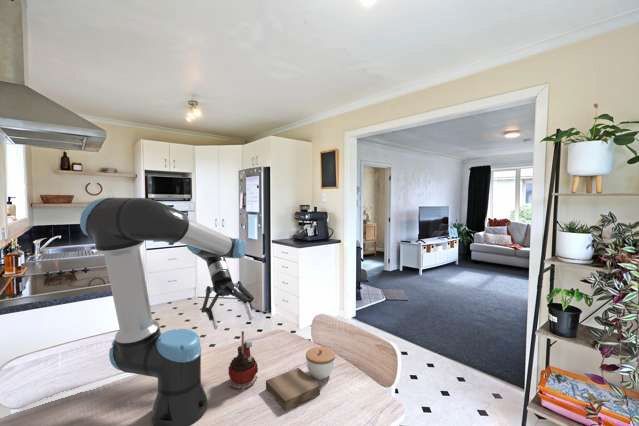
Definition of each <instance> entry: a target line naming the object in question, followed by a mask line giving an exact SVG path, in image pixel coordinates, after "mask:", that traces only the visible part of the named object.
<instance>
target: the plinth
mask: <svg viewBox="0 0 639 426" xmlns="http://www.w3.org/2000/svg"><path fill="white" fill-rule="evenodd" d="M265 390H266V391H267V392H268V393H269V394H270V395H271V396H272V398H273V400H275V401H276V402H277V403H278V404H279V405H280V406H281V407H282V409H284V411H286V412H287V411H289V410H291V409H292V408H294V407H296V406H298V405H301V404H302V403H305V402H307V401H309V400H311V399H313V398H315V397H317V396H319V395H320V394H321V385H320V384H319V383H318V382H317V381H315V380H314V378H313V377H310V375H308V374H307V373H306V372H305V371H303V370H302V369H300V368H299V367H296V368H293V369H292V370H289V371H286V372H284V373H281V374H279V375H276V376H274V377H270V378H269V379H266V380H265Z"/></svg>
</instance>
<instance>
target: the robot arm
mask: <svg viewBox="0 0 639 426" xmlns="http://www.w3.org/2000/svg"><path fill="white" fill-rule="evenodd" d="M79 226H80V230H81V231H82V233H83V234H84V235H85V236H87V237H88V238H90V239H92V240H93V241H94V245H95V251H97V252H99V253H101V254H103V257H104V259H105V265H106V269H107V275H108V279H109V284H110V289H111V295H112V298H113V303H114V308H115V313H116V317H117V323H118V328H119V329H118V331H117V332H116V334H115V335H114V339H113V340H112V342H111V347H110V348H109V351H108V352H109V353H108V356H109V357H108V358H109V361H110V364H111V365H112V367H113V368H114V369H116V370H118V371H121V372H123V373H127V374H135V375H141V376H146V377H151V378H156V379H157V393H156V397H155V400H154V403H153V407H152V409H151V423H152V425H153V426H191V425H192V424H194V423H195V422H197V421H198V420H200V419H201V418H202V417H203V416H204V414H205V413H206V411H207V409H208V396H207V393H206V391H205V387H204V386H203V383H202V376H201V375H202V368H201V367H202V366H201V365H202V364H201V363H202V361H201V359H202V357H201V356H202V354H201V353H202V346H201V339H200V335H199V334H198V333H196V332H195V331H193V330H191V329H187V328H179V329H169V330H166V331H165V332H162V333H161V327H160V323H159V322H158V321H157V320H156V319H153V317H152V316H153V315H152V310H151V304H150V299H149V292H148V287H147V282H146V278H145V272H144V264H143V259H142V253H141V246H142V245H143V244H144V243H145V241H149V242H150V241H153V242H154V241H155V242H156V241H157V242H164V243H168V244H175V243H180V244H183V245H186V248H187V250H188V251H190V252H191V254H194V255H196V256H197V257H199V258H200V259H202V260H204V261H205V262H206V265H207V269H208V272H209V275H210V281H211V282H212V286H209V285H207V286H206V289H205V297H204V299H203V304H202V307H201V313H202V314H203V313H206V314H207V318H208V321H209V322H212V326H213V329H214V331H215V330H217V329H218V326H219V323H218V320H217V316H216V312H215V309H214V306H215V304H216V302H217V300H218V299H219V297H222V298H223V297H229V296H232V297H235V298H236V299H238V300H240V302H242V303H243V304H244V308H245V311H246V314H247V317H248V320H249V321H252V320H253V318H254V313H253V310H254V309H253V305H252V302H253V301H254V299H255V296H254V295H252V293H250V292H249V291H248V290H247V288H246V287H245V286H243V283H242V282H241V280H238V281H237V282H233V279H232V278H233V277H232V275H231V273H230V270H229V267H228V264H227V259H243V258H244V256H245V254H246V252H247V243H246V241H245V240H244V239H242V238H233V237H229V236H228V235H226V234H222V233H221V232H219V231H217V230H215V229H212V228H210V227H207V226H206V225H204V224H201V223H199V222H197V221H194V220H193V219H191V218H190V217H188V214H186V213H185V212H183V211H180V210H179V209H176V208H174V207H172V206H170V205H167V204H166V203H165V204H164V203H163V202H160V201H157V200H154V199H150V198H146V197H116V196H114V197H104V198H97V199H95V200H93V201H91V202H89V203H88V204H86V207H85V209H83V211H81V215H80V219H79ZM212 291H213V292H214V293H215V296H214V297H213V299H212V300H211V302H210V304H209V306H208V302H209V299H210V295H211V293H212ZM207 306H208V307H207Z"/></svg>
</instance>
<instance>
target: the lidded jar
mask: <svg viewBox="0 0 639 426" xmlns="http://www.w3.org/2000/svg"><path fill="white" fill-rule="evenodd" d="M305 361H306V363H305V364H306V367H307V370H308V372H309V373H310V375H311V376H312V378H313V379H317V380H325V379H327V378H328V377H330V375H331V374H332V372H333V371H334V368H335V364H336V352H335V351H334V350H333V349H332V348H329V347H326V346H314V347H312V348H310V349H307V350H306V353H305Z"/></svg>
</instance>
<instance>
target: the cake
mask: <svg viewBox="0 0 639 426" xmlns="http://www.w3.org/2000/svg"><path fill="white" fill-rule="evenodd" d="M252 347H253V343H252V341H251V340H247V341H245V331H244V330H241V345H239V346H237V356H235V357H233V358H232V359H231V362H230V363H229V366H228V376H229V379H228V384H229V386H230V387H231V386H232V388H235V389H240V388H241V389H246V388H249V387H251V386H252V385H254V384H255V383H256V382H257V379H258V376H257V374H258V371H259V370H258V363H257V361H256V360H255V358H254V356H252V354H251V348H252Z"/></svg>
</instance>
